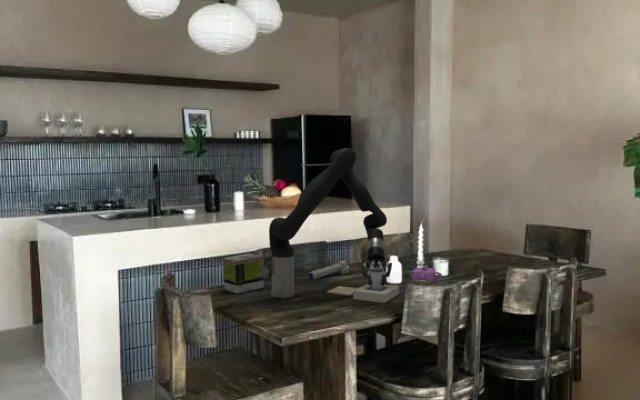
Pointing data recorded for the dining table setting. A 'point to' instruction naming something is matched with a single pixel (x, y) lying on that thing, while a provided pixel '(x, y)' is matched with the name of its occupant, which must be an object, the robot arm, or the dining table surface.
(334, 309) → the dining table surface
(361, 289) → the housing
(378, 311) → the dining table surface
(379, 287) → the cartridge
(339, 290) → the mat
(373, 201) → the robot arm
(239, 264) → the tea box
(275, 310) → the dining table surface
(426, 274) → the teapot
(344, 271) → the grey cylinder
